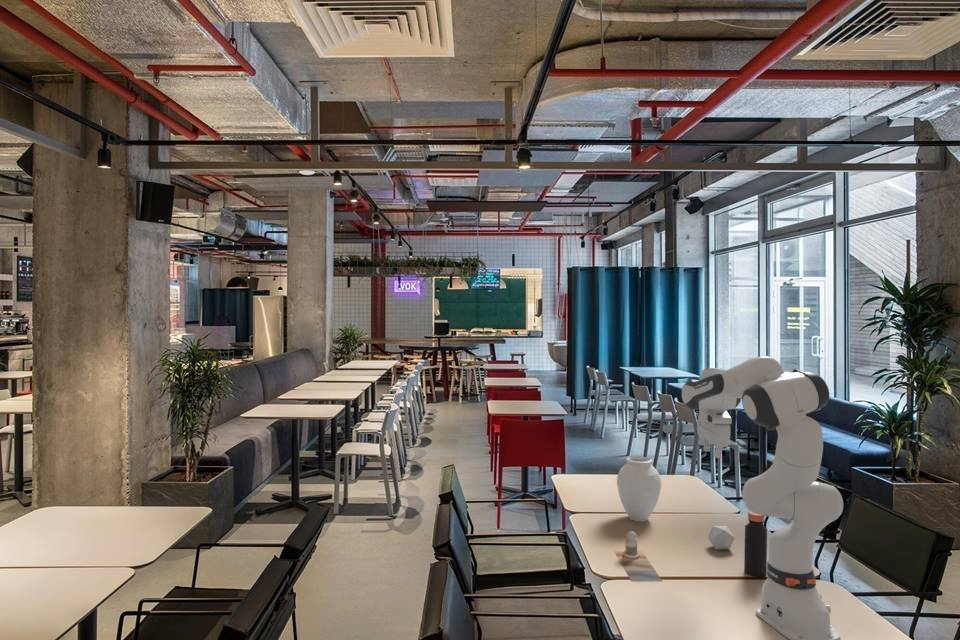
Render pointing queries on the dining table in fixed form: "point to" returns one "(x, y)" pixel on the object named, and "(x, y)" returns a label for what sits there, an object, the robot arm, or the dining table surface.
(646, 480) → the vase
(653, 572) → the game board
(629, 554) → the pawn
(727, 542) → the die
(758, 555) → the bottle
